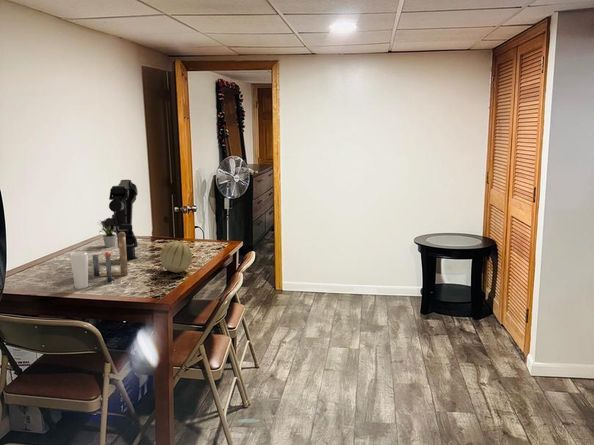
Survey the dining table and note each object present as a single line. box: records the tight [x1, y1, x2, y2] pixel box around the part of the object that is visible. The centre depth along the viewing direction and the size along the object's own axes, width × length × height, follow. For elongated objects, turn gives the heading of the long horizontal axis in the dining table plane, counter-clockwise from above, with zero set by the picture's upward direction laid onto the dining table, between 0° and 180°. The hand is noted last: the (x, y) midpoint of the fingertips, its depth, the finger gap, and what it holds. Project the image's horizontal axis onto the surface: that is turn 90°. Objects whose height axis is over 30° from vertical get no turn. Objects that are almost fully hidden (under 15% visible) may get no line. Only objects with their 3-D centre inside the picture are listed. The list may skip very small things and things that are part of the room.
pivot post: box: [91, 254, 103, 279], centre depth 237 cm, size 4×4×10 cm
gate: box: [100, 232, 129, 277], centre depth 237 cm, size 12×3×20 cm, turn 102°
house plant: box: [97, 219, 117, 248], centre depth 292 cm, size 14×14×16 cm
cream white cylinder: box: [69, 251, 89, 290], centre depth 221 cm, size 7×7×15 cm
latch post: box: [104, 251, 115, 285], centre depth 228 cm, size 4×4×14 cm
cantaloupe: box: [159, 239, 193, 273], centre depth 244 cm, size 15×15×15 cm
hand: (120, 244), depth 250 cm, fingers closed
